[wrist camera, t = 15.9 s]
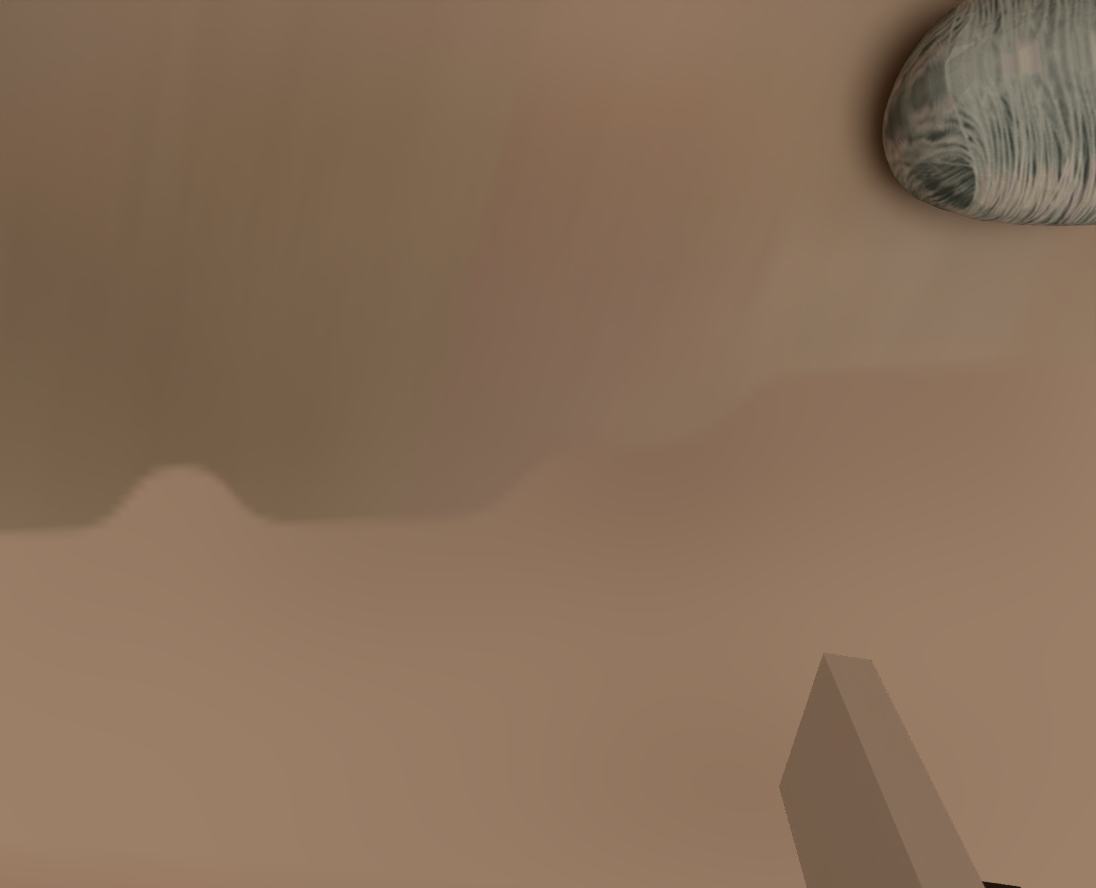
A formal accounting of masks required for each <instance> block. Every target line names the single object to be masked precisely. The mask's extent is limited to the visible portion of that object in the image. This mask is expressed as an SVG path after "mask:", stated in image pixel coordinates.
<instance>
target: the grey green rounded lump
mask: <svg viewBox="0 0 1096 888" xmlns="http://www.w3.org/2000/svg"><path fill="white" fill-rule="evenodd" d="M883 146H884V151H885V156H886V159H887V161H888V164H889V166H890V169H891V171H892V173H893V175H894V176H895V178H896V179H897V181H898V182H899V183H900V184H901V185H902V186H903V187H904V188H905V189H906V190H907V191H908V192H909V193H910V194H911V195H912V196H914V197H915V198H917V199H918V200H921V201H924V202H926V203H929V204H931V205H933V206H935V207H938V208H940V209H943V210H947V211H950V212H953V213H957V214H960V215H963V216H966V217H970V218H973V219H977V220H982V221H991V222H1002V223H1011V224H1019V225H1049V226H1067V225H1096V0H965V1H964V2H962V3H961V4H959V5H958V6H956V7H955V8H954V9H952V10H951V11H949V12H948V13H947V14H945V15H944V16H943V17H942V18H940V19H939V20H938V21H937V22H936V23H935V24H934V25H933V26H932V27H931V28H930V29H929V31H928V32H927V33H926V34H925V35H924V36H923V37H922V39H921V40H920V41H919V43H918V44H917V45H916V46H915V48H914V49H913V51H912V52H911V54H910V55H909V57H908V58H907V60H906V62H905V64H904V66H903V68H902V70H901V72H900V74H899V76H898V78H897V80H896V82H895V84H894V87H893V90H892V92H891V95H890V97H889V100H888V104H887V107H886V111H885V114H884V121H883Z"/></svg>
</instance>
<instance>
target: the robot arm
mask: <svg viewBox="0 0 1096 888" xmlns="http://www.w3.org/2000/svg"><path fill="white" fill-rule="evenodd" d="M779 788H780V792H781V796H782V799H783V802H784V806H785V810H786V814H787V817H788V821H789V824H790V828H791V832H792V835H793V839H794V843H795V846H796V850H797V853H798V857H799V861H800V864H801V868H802V871H803V875H804V879H805V882H806V886H807V888H1021V887H1017V886H1011V885H1004V884H997V883H990V882H983V881H981V879H980V877H979V875H978V873H977V871H976V869H975V867H974V865H973V863H972V861H971V859H970V857H969V855H968V853H967V851H966V848H965V847H964V844H963V843H962V841H961V838H960V836H959V834H958V833H957V830H956V829H955V826H954V824H953V822H952V821H951V818H950V817H949V814H948V812H947V811H946V809H945V807H944V805H943V802H942V800H941V798H940V797H939V794H938V792H937V790H936V788H935V786H934V784H933V782H932V780H931V778H930V776H929V774H928V772H927V771H926V769H925V766H924V764H923V762H922V761H921V758H920V756H919V754H918V752H917V750H916V748H915V746H914V744H913V742H912V740H911V738H910V736H909V734H908V732H907V730H906V728H905V726H904V724H903V722H902V720H901V718H900V716H899V714H898V712H897V710H896V708H895V706H894V704H893V702H892V700H891V698H890V697H889V694H888V693H887V690H886V688H885V686H884V684H883V682H882V680H881V678H880V676H879V674H878V672H877V670H876V668H875V666H874V664H873V662H872V660H867V659H861V658H854V657H847V656H841V655H834V654H828V653H823V656H822V659H821V662H820V665H819V668H818V671H817V674H816V677H815V680H814V683H813V686H812V689H811V692H810V695H809V699H808V701H807V704H806V707H805V710H804V713H803V716H802V719H801V722H800V725H799V728H798V731H797V734H796V738H795V740H794V744H793V747H792V749H791V753H790V756H789V759H788V762H787V764H786V768H785V770H784V773H783V777H782V780H781V783H780V786H779Z"/></svg>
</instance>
